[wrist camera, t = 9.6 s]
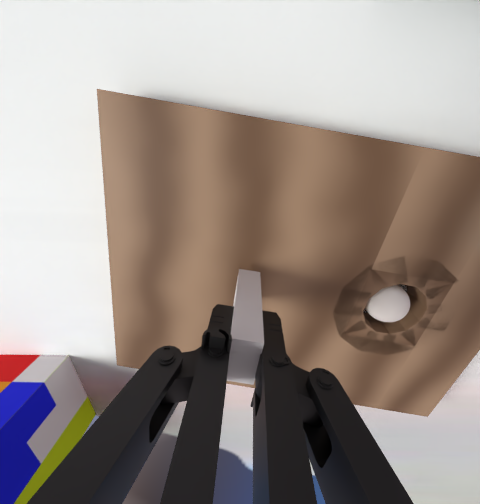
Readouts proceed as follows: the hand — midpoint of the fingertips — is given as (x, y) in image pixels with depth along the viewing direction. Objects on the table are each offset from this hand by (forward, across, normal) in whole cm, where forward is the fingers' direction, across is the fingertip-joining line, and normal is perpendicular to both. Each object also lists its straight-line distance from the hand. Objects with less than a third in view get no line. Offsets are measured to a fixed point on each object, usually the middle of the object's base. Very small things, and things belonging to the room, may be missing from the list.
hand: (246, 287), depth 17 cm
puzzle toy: (+4, -21, -20) cm, 30 cm away
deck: (+3, +4, 0) cm, 5 cm away
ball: (+2, +11, 0) cm, 11 cm away
